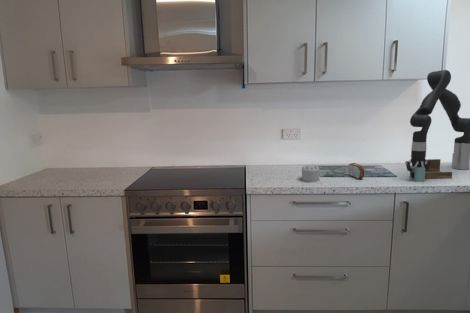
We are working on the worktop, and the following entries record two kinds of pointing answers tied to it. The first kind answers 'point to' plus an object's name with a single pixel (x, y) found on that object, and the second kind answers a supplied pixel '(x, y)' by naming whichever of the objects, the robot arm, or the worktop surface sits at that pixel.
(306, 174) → the lumpy-topped squat cylinder
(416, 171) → the cabinet block
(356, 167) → the grey brown half-round slab
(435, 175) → the wall rack
